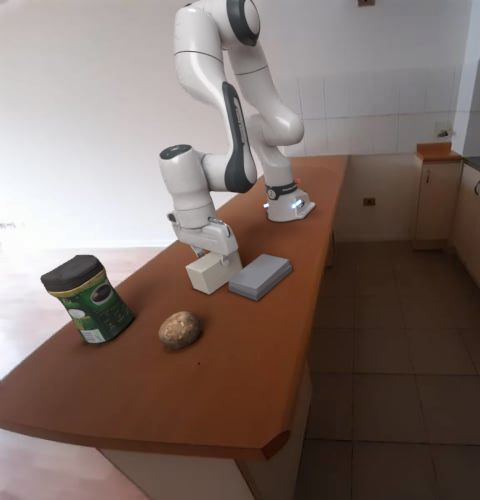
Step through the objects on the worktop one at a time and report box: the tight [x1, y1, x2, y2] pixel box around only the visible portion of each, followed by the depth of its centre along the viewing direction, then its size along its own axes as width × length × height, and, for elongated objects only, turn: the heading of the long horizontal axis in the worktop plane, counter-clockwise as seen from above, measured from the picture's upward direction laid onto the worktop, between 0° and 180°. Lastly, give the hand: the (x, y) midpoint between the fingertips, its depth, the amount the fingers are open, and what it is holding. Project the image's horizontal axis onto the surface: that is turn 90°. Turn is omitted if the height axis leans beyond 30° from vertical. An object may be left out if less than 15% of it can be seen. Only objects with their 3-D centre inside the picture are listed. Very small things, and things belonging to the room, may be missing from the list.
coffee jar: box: [40, 254, 134, 344], centre depth 60 cm, size 10×8×19 cm
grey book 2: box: [227, 264, 293, 302], centre depth 77 cm, size 15×10×2 cm, turn 151°
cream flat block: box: [185, 249, 240, 280], centre depth 77 cm, size 12×6×2 cm, turn 151°
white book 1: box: [187, 256, 242, 287], centre depth 78 cm, size 12×6×2 cm, turn 151°
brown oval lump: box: [157, 310, 202, 350], centre depth 60 cm, size 8×8×6 cm
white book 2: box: [190, 263, 244, 295], centre depth 79 cm, size 12×6×2 cm, turn 151°
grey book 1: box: [227, 253, 291, 294], centre depth 76 cm, size 14×10×2 cm, turn 154°
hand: (213, 260), depth 77 cm, fingers open, 8 cm apart
